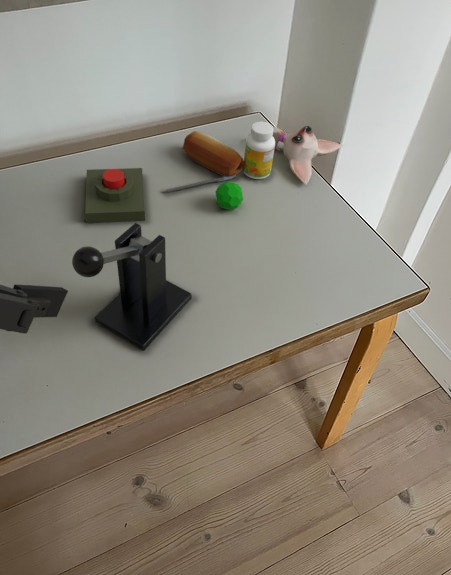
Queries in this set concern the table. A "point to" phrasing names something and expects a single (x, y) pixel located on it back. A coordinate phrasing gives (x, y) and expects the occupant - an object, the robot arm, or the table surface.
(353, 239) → the table surface
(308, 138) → the toy dog
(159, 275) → the switch bracket
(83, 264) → the lever
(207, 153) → the hot dog
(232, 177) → the pen
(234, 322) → the table surface
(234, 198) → the polyhedron
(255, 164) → the supplement bottle
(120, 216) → the control box
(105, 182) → the button
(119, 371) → the table surface
